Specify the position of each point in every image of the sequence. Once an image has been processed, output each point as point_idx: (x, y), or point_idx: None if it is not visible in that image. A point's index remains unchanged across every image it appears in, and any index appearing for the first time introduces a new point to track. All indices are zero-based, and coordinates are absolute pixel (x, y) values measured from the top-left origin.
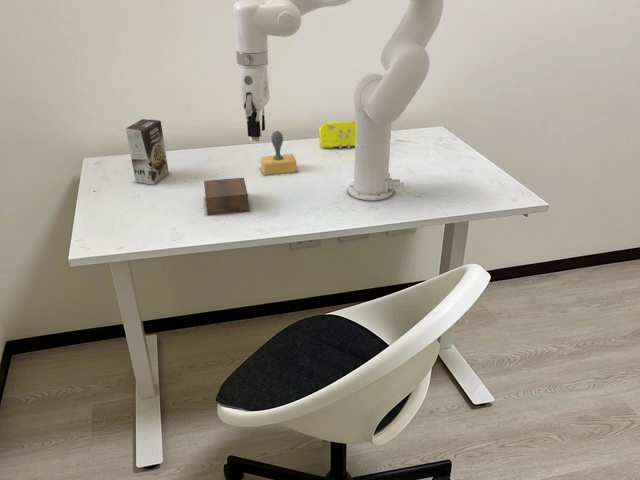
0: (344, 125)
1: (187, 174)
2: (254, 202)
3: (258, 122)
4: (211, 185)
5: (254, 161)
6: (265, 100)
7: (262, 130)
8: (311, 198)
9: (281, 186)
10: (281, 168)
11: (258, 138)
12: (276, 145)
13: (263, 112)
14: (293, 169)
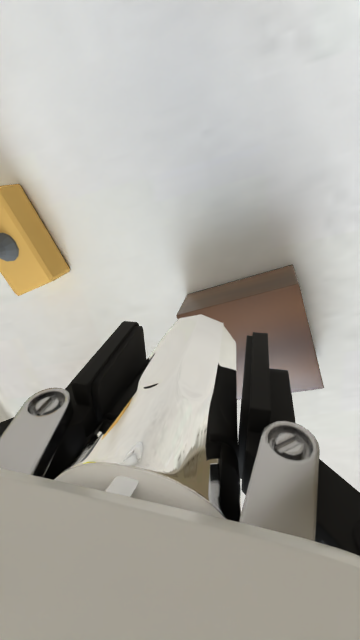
0: None
1: None
2: (233, 261)
3: (269, 412)
4: (241, 384)
5: (11, 307)
6: (64, 616)
7: (142, 333)
8: (180, 71)
9: (119, 206)
10: (36, 228)
11: (226, 334)
12: None
13: (48, 400)
14: (19, 192)
